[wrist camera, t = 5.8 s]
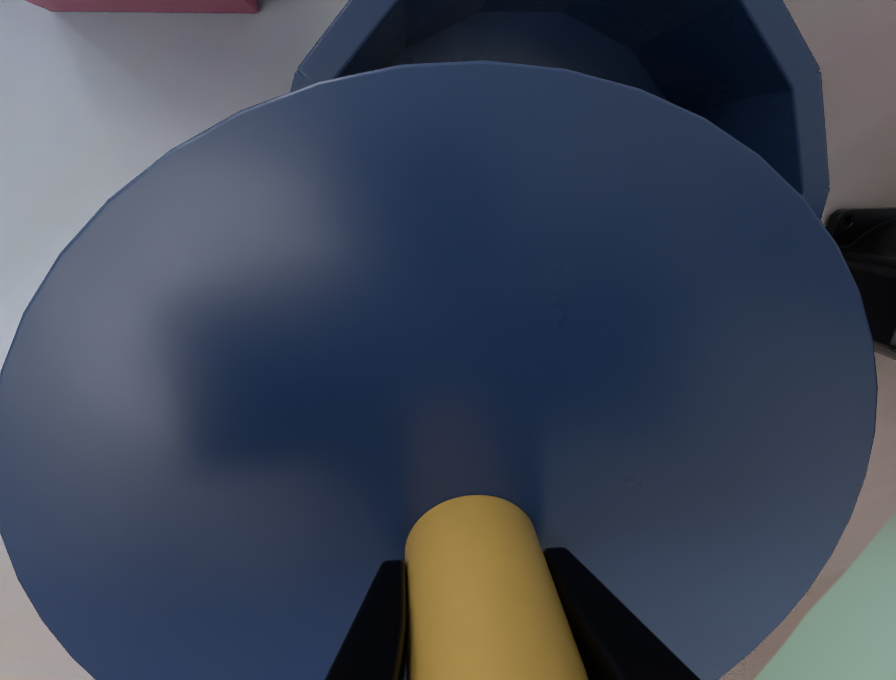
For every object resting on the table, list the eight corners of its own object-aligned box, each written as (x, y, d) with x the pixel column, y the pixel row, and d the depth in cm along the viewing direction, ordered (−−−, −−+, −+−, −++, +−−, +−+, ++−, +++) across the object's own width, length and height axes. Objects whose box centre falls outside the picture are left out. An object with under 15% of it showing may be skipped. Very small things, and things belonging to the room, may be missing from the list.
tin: (735, -9, 16) (913, -100, 10) (663, 383, 22) (752, 460, 16) (284, -16, 15) (211, -124, 9) (336, 402, 20) (310, 492, 15)
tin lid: (959, 85, 8) (1884, -39, 3) (726, 702, 14) (897, 985, 9) (-138, 60, 6) (-2072, -302, 1) (155, 767, 12) (1, 1149, 7)
